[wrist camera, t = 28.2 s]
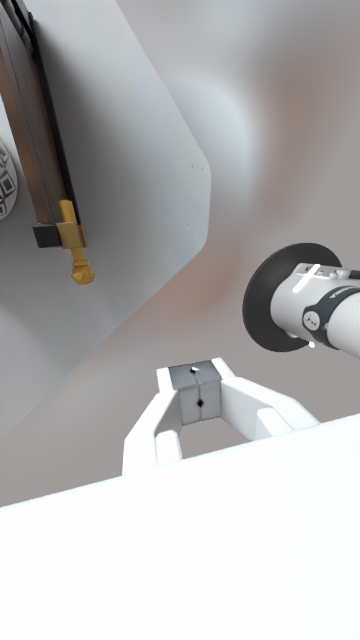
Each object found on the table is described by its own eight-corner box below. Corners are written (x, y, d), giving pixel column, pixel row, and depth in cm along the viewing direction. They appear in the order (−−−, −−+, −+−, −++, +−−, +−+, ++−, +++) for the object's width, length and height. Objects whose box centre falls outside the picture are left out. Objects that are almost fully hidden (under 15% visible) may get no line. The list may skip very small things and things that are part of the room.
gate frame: (8, 14, 26) (-104, -187, 14) (48, 18, 27) (-25, -170, 15) (70, 250, 36) (36, 250, 24) (98, 247, 37) (79, 247, 25)
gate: (15, 36, 26) (-76, -123, 15) (32, 38, 26) (-45, -117, 15) (65, 231, 34) (30, 222, 23) (77, 230, 35) (49, 221, 23)
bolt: (56, 204, 27) (42, 197, 23) (81, 203, 27) (71, 195, 23) (77, 284, 31) (68, 289, 27) (99, 281, 31) (93, 286, 27)
